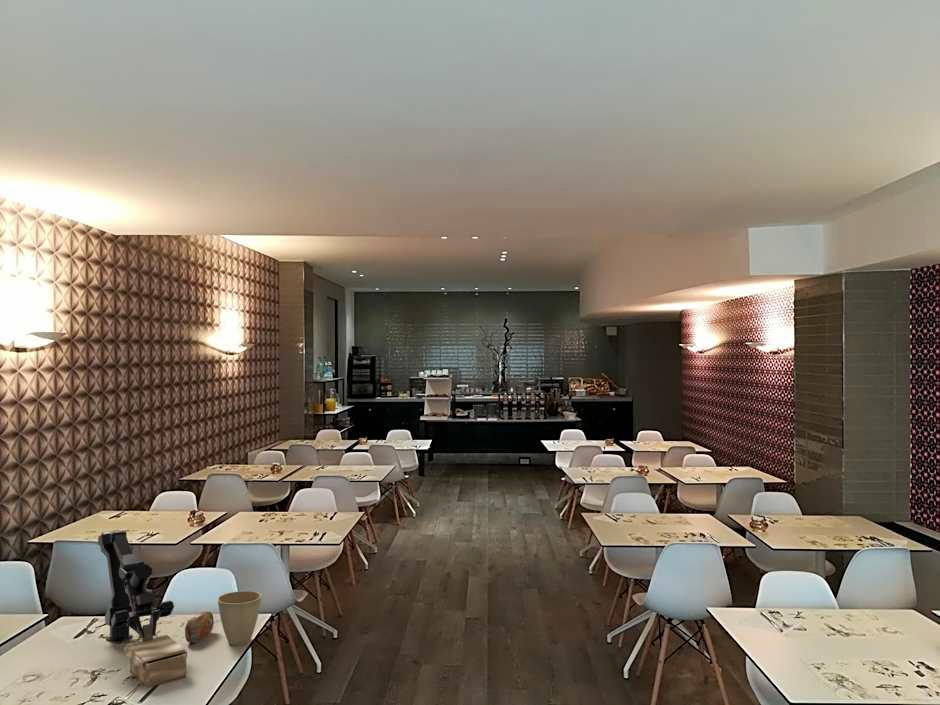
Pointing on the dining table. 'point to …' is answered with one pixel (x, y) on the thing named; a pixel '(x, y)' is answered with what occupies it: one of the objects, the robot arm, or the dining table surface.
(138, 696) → the dining table surface
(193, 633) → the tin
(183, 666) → the carton
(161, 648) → the carton lid
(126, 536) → the robot arm
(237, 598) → the plant pot
